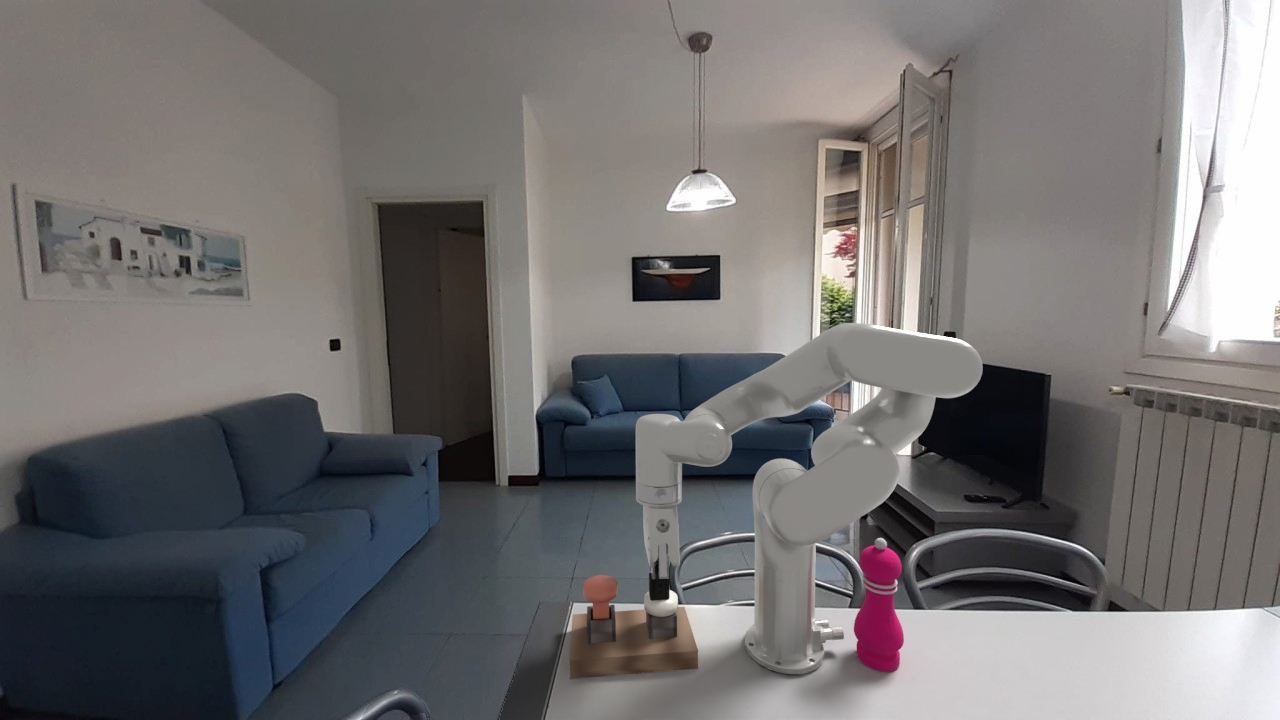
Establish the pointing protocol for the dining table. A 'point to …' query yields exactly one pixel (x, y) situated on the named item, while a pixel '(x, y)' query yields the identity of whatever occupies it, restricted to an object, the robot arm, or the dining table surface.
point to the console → (631, 643)
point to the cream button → (661, 605)
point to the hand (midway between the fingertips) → (659, 597)
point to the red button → (600, 594)
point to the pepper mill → (879, 609)
